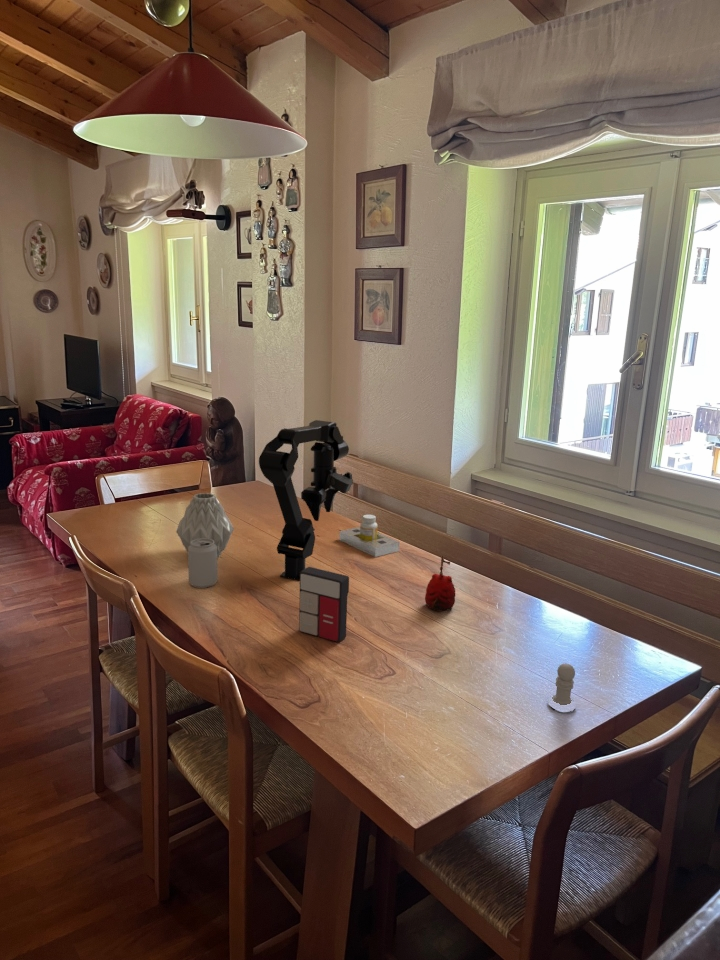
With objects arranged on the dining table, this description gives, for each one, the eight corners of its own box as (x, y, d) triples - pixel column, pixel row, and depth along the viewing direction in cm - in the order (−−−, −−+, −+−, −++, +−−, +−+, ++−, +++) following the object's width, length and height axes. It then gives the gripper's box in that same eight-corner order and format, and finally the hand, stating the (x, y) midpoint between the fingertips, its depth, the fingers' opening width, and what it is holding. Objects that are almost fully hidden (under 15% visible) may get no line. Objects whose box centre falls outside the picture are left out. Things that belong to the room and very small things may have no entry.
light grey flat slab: (399, 551, 218) (399, 541, 217) (375, 557, 212) (375, 547, 212) (362, 534, 232) (362, 525, 231) (339, 540, 226) (339, 530, 225)
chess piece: (570, 698, 141) (575, 658, 139) (579, 714, 136) (584, 672, 133) (544, 698, 141) (548, 657, 138) (551, 714, 135) (556, 671, 133)
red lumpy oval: (456, 604, 182) (460, 549, 178) (452, 615, 176) (456, 558, 172) (426, 599, 184) (430, 545, 180) (421, 611, 178) (425, 554, 174)
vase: (239, 548, 216) (239, 489, 211) (224, 568, 200) (223, 505, 196) (187, 544, 217) (186, 486, 213) (168, 564, 202) (166, 501, 197)
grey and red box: (297, 632, 164) (297, 572, 160) (306, 625, 168) (307, 566, 164) (338, 644, 159) (340, 582, 155) (347, 636, 163) (349, 576, 159)
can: (201, 591, 184) (200, 548, 181) (183, 584, 189) (181, 541, 186) (223, 583, 190) (222, 541, 187) (204, 576, 194) (203, 534, 191)
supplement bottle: (366, 549, 218) (367, 520, 216) (356, 544, 223) (357, 515, 220) (380, 546, 221) (381, 517, 219) (369, 541, 226) (370, 512, 223)
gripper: (338, 474, 192) (337, 529, 196) (360, 460, 209) (358, 511, 213) (300, 470, 195) (300, 524, 199) (325, 456, 212) (324, 506, 216)
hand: (322, 516), depth 207 cm, fingers open, 9 cm apart
